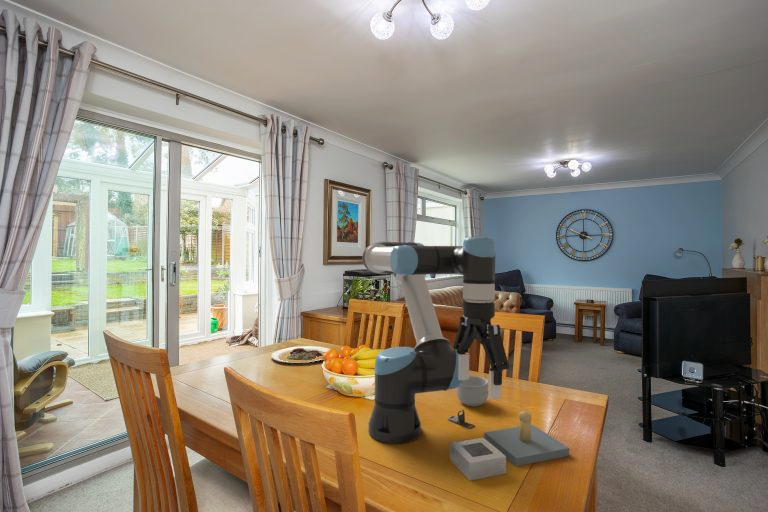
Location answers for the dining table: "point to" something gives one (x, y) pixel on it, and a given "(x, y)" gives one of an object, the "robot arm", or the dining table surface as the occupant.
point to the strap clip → (460, 420)
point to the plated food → (300, 353)
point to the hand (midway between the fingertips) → (478, 388)
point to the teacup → (473, 391)
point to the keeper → (526, 443)
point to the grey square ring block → (477, 458)
